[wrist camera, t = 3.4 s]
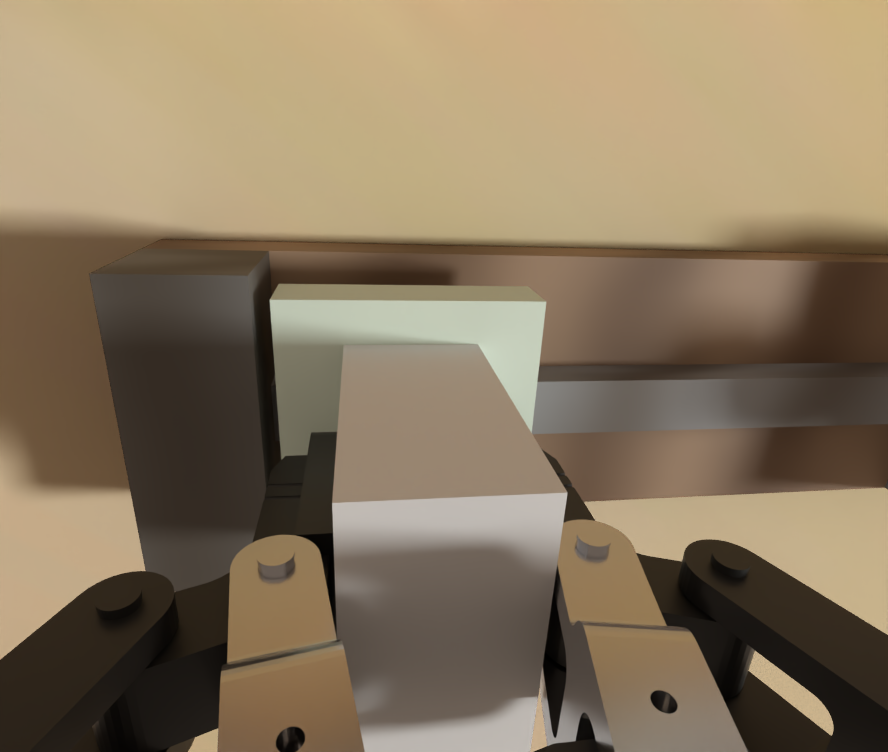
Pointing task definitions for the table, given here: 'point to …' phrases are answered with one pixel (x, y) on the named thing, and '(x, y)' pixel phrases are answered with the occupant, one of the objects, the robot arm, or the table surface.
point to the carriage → (429, 500)
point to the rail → (559, 378)
